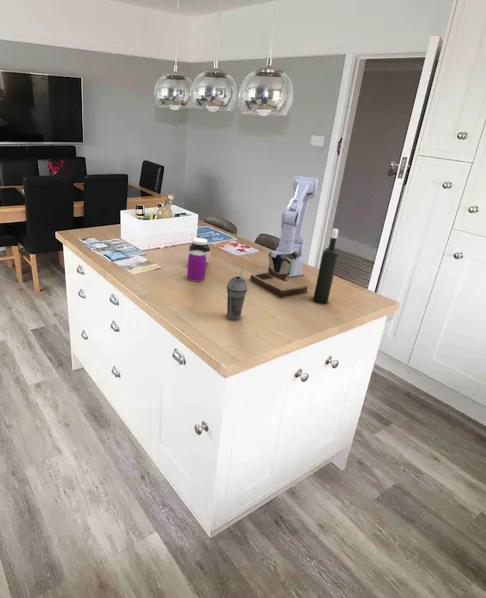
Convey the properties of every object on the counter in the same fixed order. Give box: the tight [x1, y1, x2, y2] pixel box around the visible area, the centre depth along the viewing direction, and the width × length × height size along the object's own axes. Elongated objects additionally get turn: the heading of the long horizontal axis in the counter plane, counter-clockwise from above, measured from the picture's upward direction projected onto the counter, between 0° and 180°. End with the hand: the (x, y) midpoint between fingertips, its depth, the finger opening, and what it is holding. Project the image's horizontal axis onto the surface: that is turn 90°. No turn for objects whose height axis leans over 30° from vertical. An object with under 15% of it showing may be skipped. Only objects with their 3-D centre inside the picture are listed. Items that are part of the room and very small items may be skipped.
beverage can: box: [186, 250, 207, 283], centre depth 179 cm, size 8×8×12 cm
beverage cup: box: [226, 264, 248, 321], centre depth 146 cm, size 7×7×20 cm
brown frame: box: [249, 271, 309, 298], centre depth 180 cm, size 15×20×2 cm
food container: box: [267, 251, 294, 283], centre depth 176 cm, size 12×6×10 cm, turn 41°
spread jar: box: [187, 237, 211, 265], centre depth 196 cm, size 12×11×12 cm
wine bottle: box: [312, 228, 340, 305], centre depth 163 cm, size 6×6×30 cm
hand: (281, 270), depth 177 cm, fingers closed on food container, 6 cm apart
